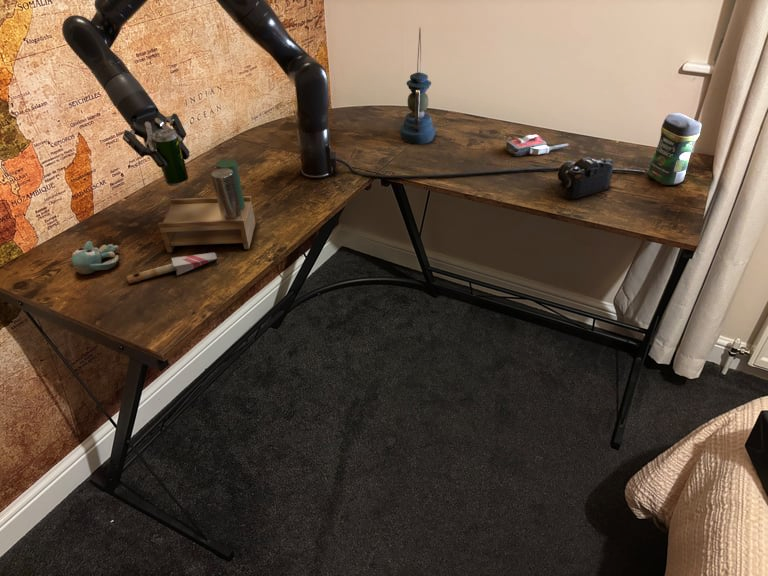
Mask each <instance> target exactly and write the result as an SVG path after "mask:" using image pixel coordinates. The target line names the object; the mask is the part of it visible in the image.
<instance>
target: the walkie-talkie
mask: <svg viewBox="0 0 768 576" xmlns="http://www.w3.org/2000/svg"><path fill="white" fill-rule="evenodd" d="M563 147H569V143H561V144H557V145H552V146H551V145H550V146H548V145H547V142H546V141H545V140H543V138H541V136H540V135H538V134H535V133H533V134H528V135H525V136H524V137H522V138H521V137H519V138H517V139H513V140H507V141H506V144H505V151H507V152H508V153H510V154H511V155H512V156H514V157H521V156H526V155H536V156H539V155H543V154H549V152H551V151H552V150H557V149H561V148H563Z"/></svg>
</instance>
